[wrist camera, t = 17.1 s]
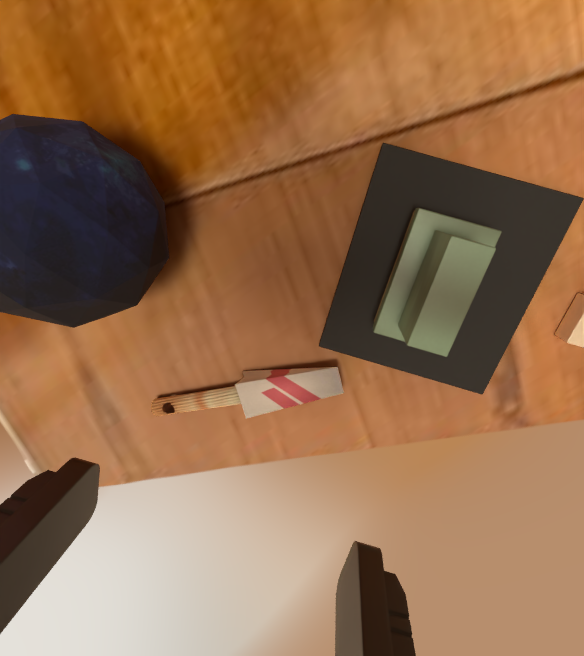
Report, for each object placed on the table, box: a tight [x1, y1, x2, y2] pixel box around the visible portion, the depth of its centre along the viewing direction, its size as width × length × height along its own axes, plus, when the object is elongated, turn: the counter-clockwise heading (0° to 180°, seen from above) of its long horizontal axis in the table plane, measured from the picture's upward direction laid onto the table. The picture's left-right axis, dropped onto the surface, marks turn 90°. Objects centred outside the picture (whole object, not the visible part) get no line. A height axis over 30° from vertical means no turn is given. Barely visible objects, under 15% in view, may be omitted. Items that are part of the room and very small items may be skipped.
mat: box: [319, 143, 584, 394], centre depth 32 cm, size 18×16×1 cm
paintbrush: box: [151, 367, 344, 418], centre depth 37 cm, size 4×3×20 cm
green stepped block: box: [372, 208, 502, 357], centre depth 28 cm, size 10×6×7 cm, turn 165°
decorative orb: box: [0, 114, 169, 327], centre depth 28 cm, size 14×15×15 cm
